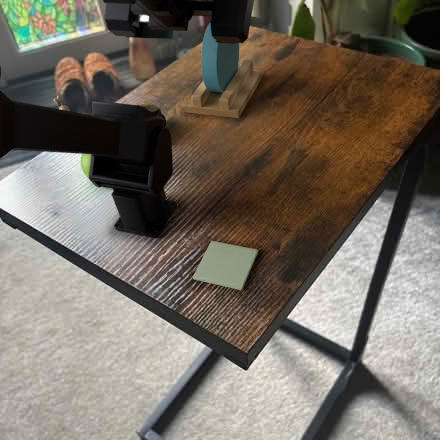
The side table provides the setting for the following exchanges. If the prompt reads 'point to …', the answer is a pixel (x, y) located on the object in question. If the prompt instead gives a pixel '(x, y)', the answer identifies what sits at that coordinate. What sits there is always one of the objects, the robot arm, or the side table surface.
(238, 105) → the rack
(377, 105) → the side table surface
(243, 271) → the felt pad
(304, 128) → the side table surface
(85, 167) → the snail figurine
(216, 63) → the disc
